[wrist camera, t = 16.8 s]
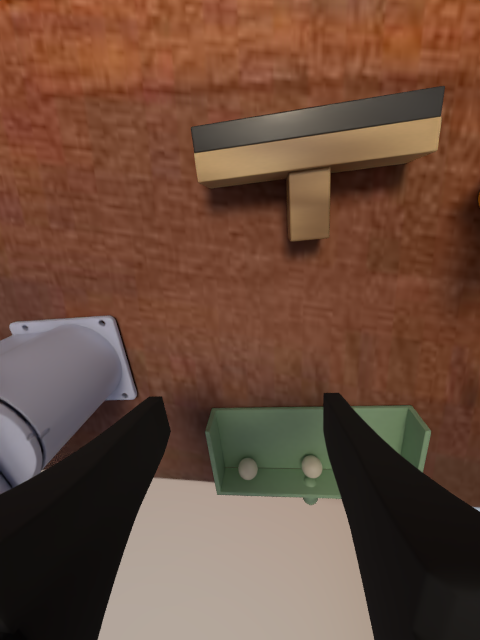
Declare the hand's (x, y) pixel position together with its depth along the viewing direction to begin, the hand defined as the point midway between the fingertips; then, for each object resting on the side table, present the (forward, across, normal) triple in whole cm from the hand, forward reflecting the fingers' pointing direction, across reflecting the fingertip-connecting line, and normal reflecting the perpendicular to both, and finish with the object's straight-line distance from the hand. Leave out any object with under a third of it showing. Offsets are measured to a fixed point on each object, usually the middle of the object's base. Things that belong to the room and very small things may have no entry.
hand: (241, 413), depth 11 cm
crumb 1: (+8, +2, +14) cm, 16 cm away
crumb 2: (+8, -4, +13) cm, 16 cm away
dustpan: (+9, -4, +12) cm, 16 cm away
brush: (+8, -4, -13) cm, 15 cm away
